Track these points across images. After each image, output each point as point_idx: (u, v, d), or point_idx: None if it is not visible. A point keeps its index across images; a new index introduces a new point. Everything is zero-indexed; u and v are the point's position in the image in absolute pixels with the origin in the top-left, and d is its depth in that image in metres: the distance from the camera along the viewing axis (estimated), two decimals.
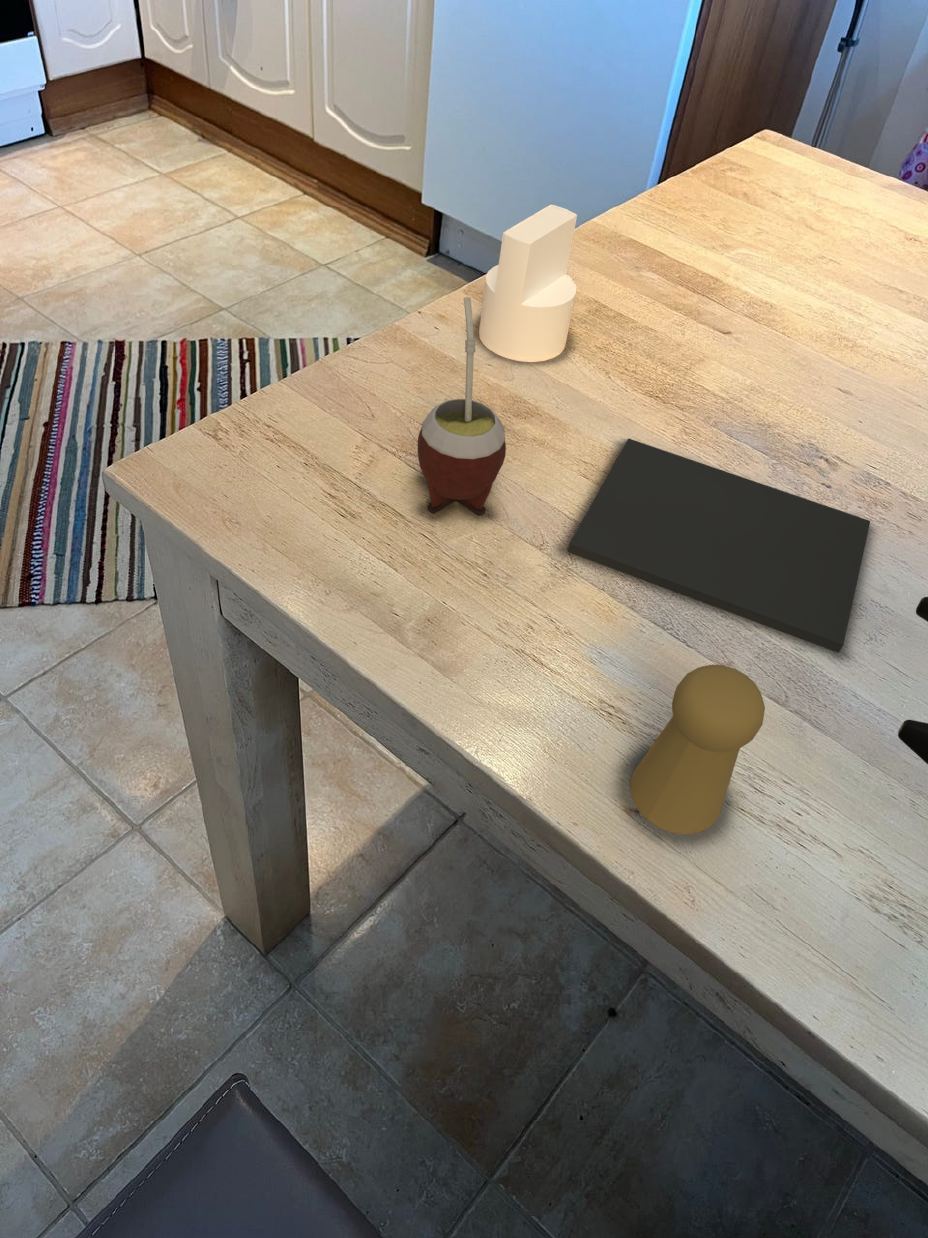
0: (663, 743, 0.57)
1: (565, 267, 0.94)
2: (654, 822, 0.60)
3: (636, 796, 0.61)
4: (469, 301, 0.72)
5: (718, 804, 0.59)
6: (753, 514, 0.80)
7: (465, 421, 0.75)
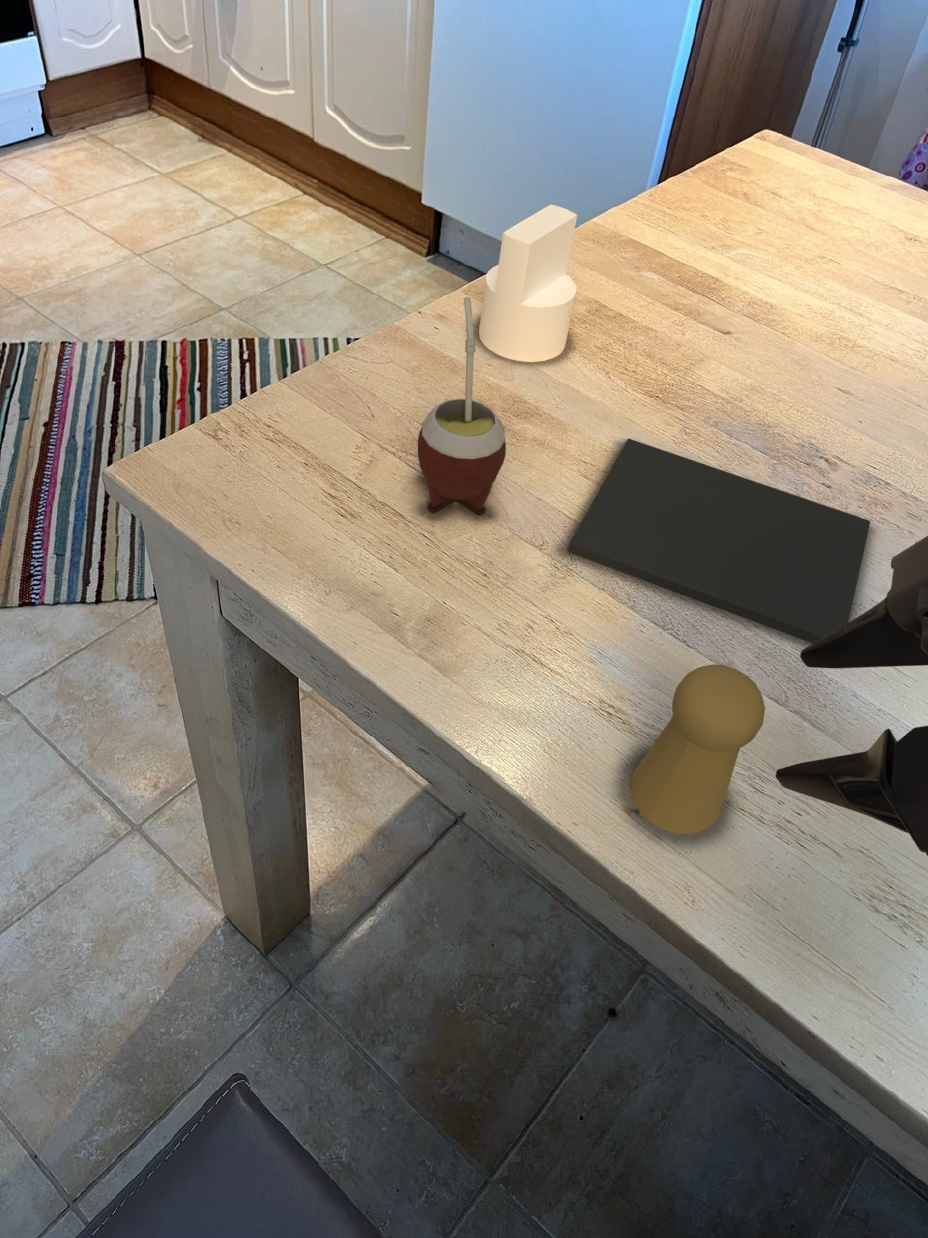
0: (663, 743, 0.57)
1: (565, 267, 0.94)
2: (654, 822, 0.60)
3: (636, 796, 0.61)
4: (469, 301, 0.72)
5: (718, 804, 0.59)
6: (753, 514, 0.80)
7: (465, 421, 0.75)
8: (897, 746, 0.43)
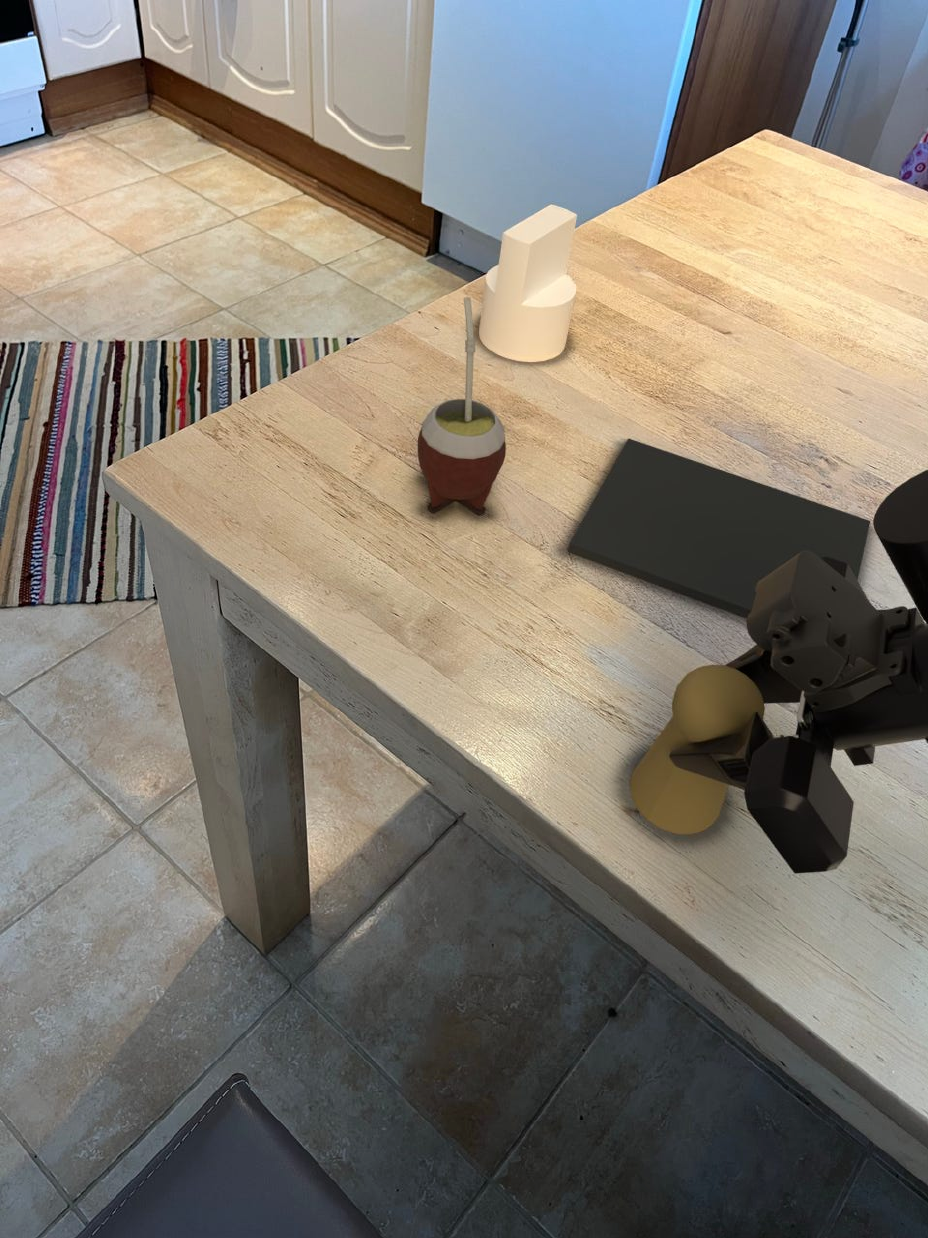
0: (663, 743, 0.57)
1: (565, 267, 0.94)
2: (654, 822, 0.60)
3: (636, 796, 0.61)
4: (469, 301, 0.72)
5: (718, 804, 0.59)
6: (753, 514, 0.80)
7: (465, 421, 0.75)
8: (754, 756, 0.47)
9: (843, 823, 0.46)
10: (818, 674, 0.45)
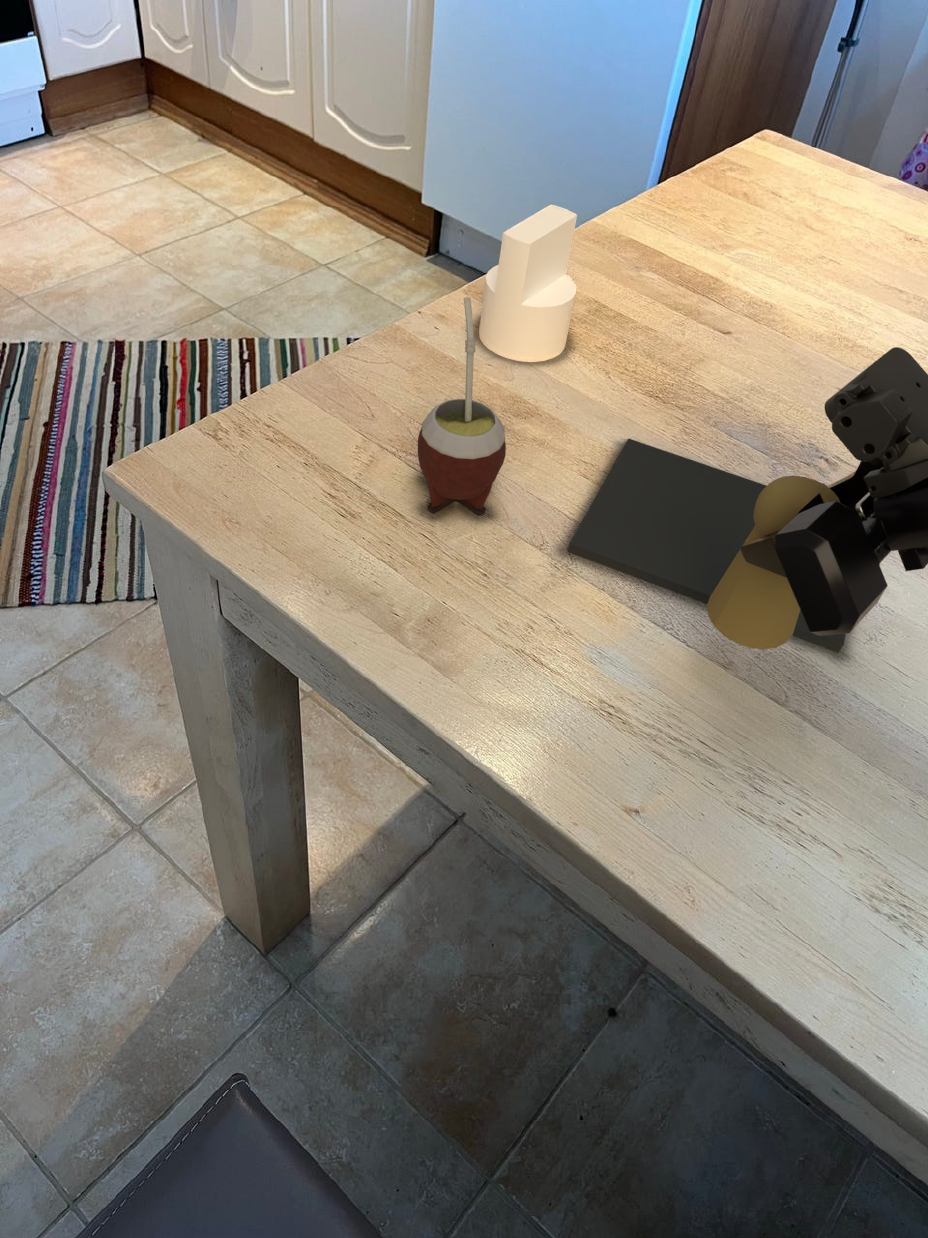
0: None
1: (565, 267, 0.94)
2: (719, 628, 0.64)
3: (710, 604, 0.65)
4: (469, 301, 0.72)
5: (783, 623, 0.62)
6: (753, 514, 0.80)
7: (465, 421, 0.75)
8: (798, 515, 0.51)
9: (866, 591, 0.49)
10: (871, 438, 0.48)
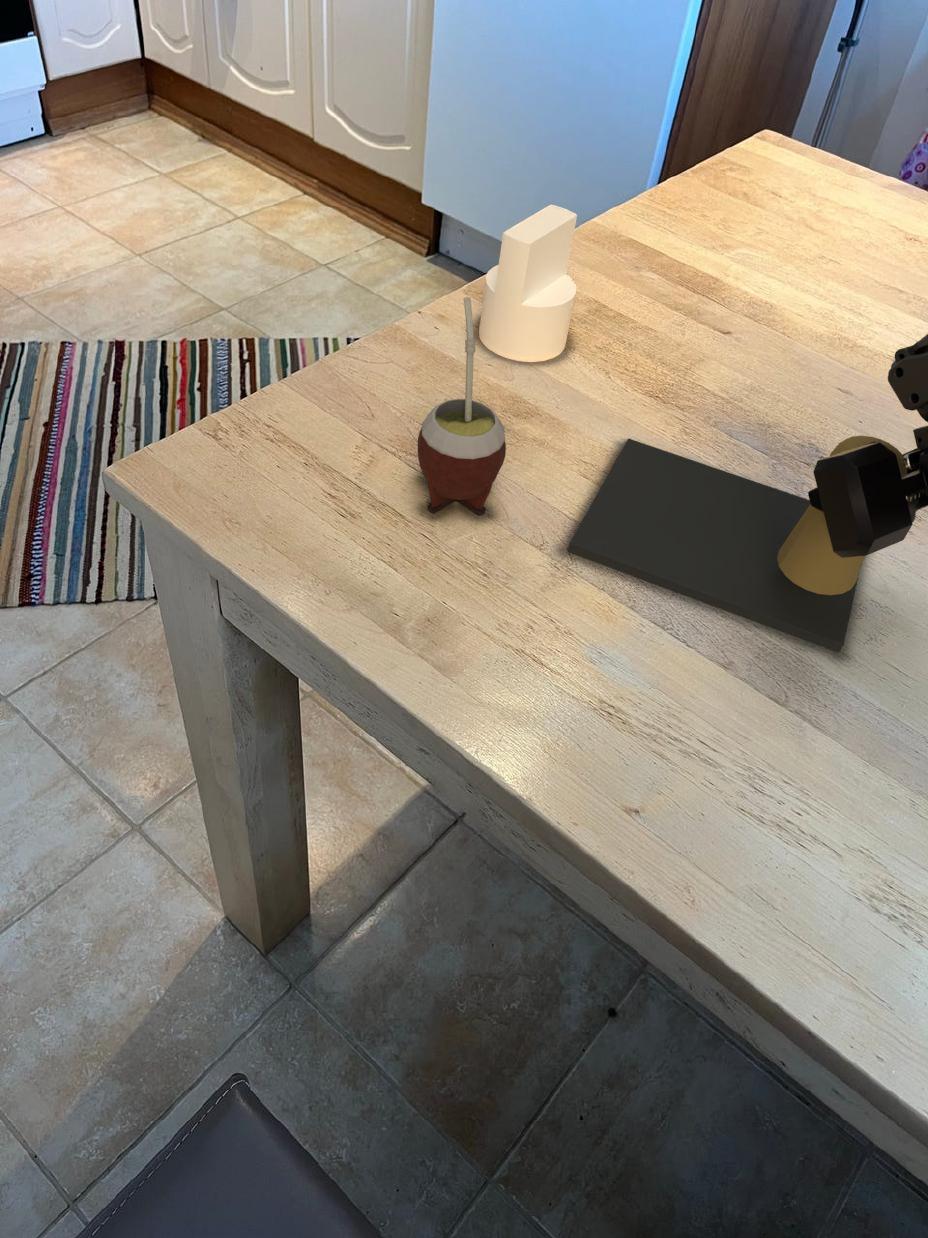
0: None
1: (565, 267, 0.94)
2: (783, 569, 0.71)
3: (781, 548, 0.72)
4: (469, 301, 0.72)
5: (839, 571, 0.69)
6: (753, 514, 0.80)
7: (465, 421, 0.75)
8: None
9: (887, 521, 0.56)
10: (917, 388, 0.55)
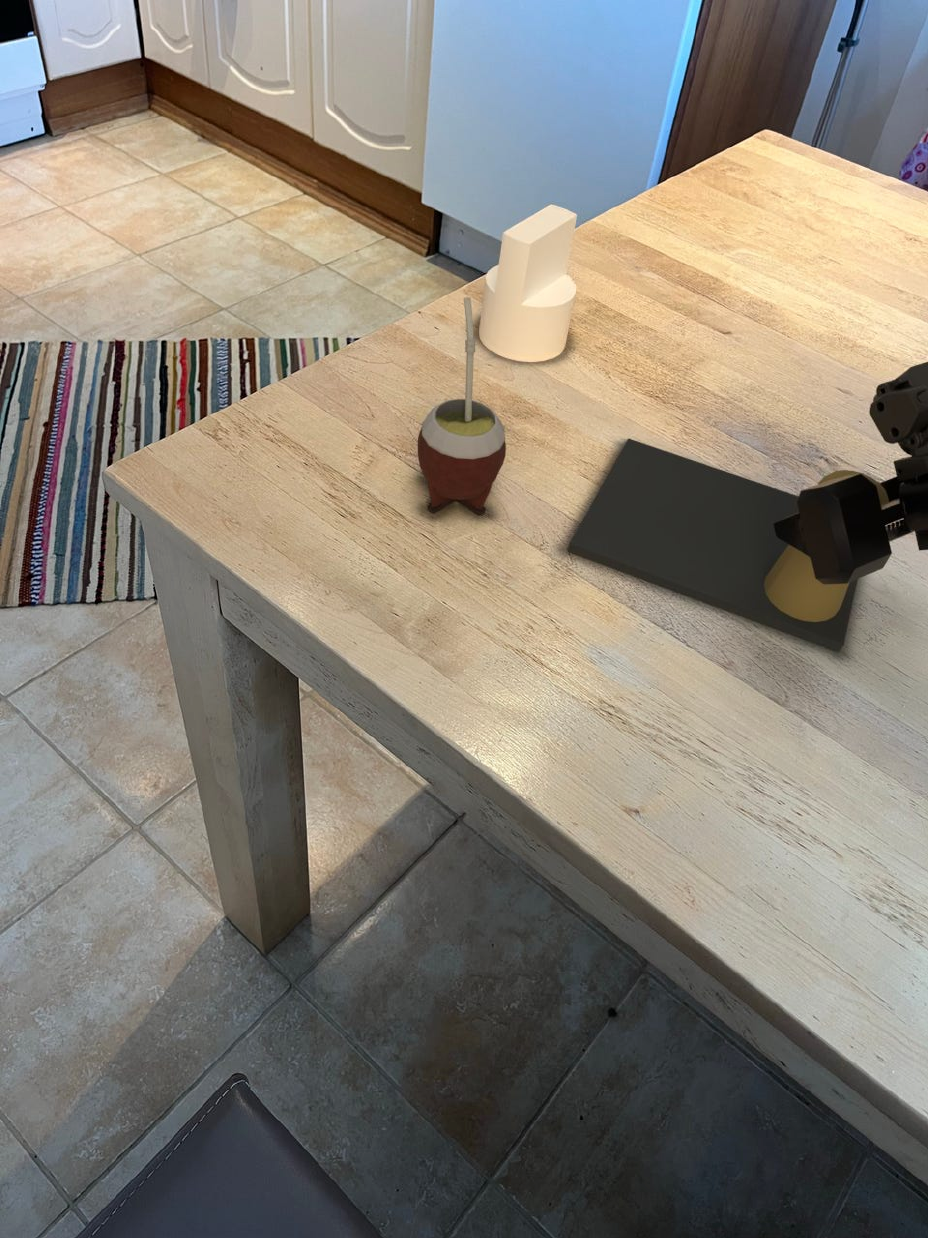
0: None
1: (565, 267, 0.94)
2: (769, 596, 0.73)
3: (767, 576, 0.74)
4: (469, 301, 0.72)
5: (824, 599, 0.71)
6: (753, 514, 0.80)
7: (465, 421, 0.75)
8: None
9: (867, 550, 0.58)
10: (897, 423, 0.57)
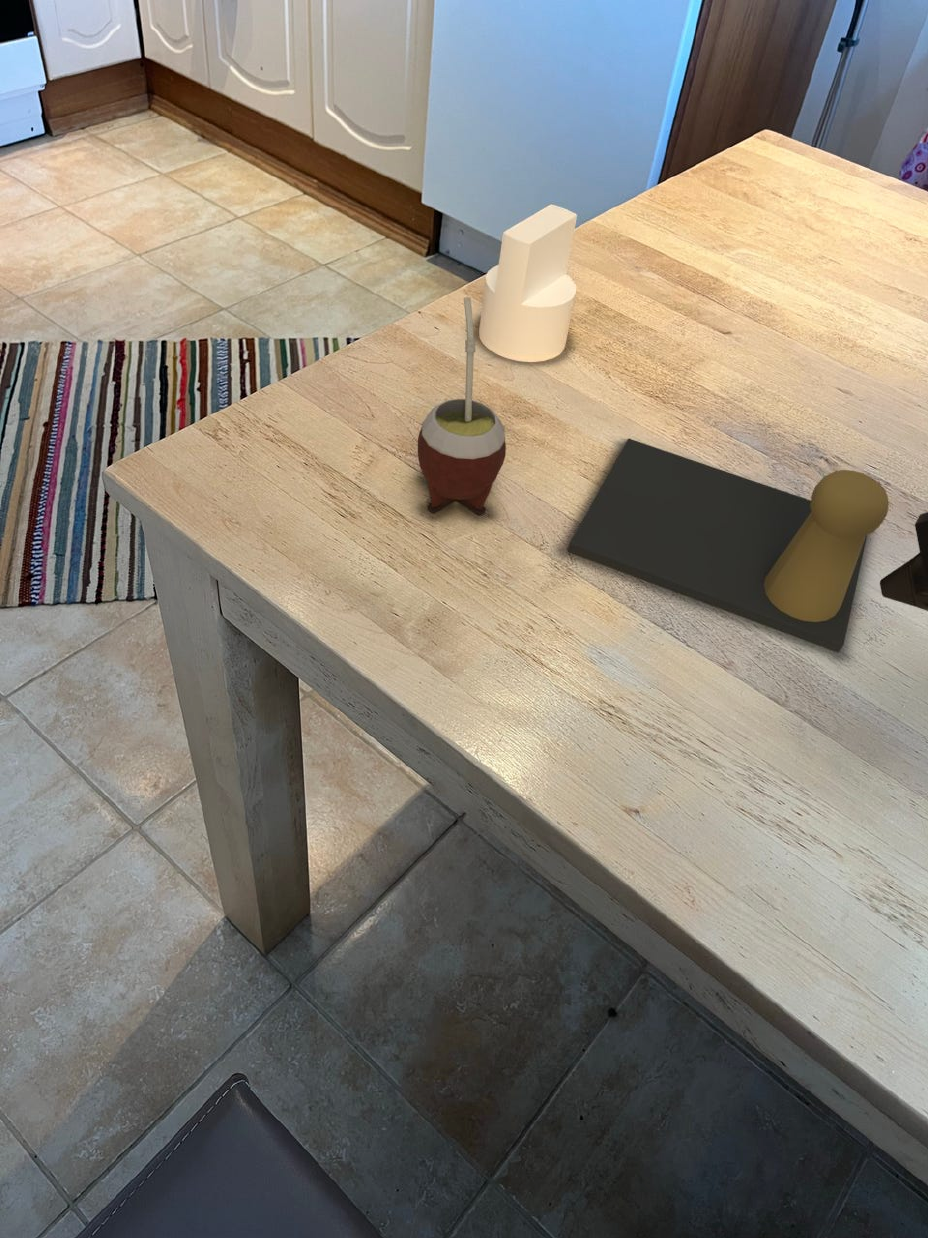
0: (800, 527, 0.71)
1: (565, 267, 0.94)
2: (769, 596, 0.73)
3: (767, 576, 0.74)
4: (469, 301, 0.72)
5: (824, 599, 0.71)
6: (753, 514, 0.80)
7: (465, 421, 0.75)
8: None
9: None
10: None
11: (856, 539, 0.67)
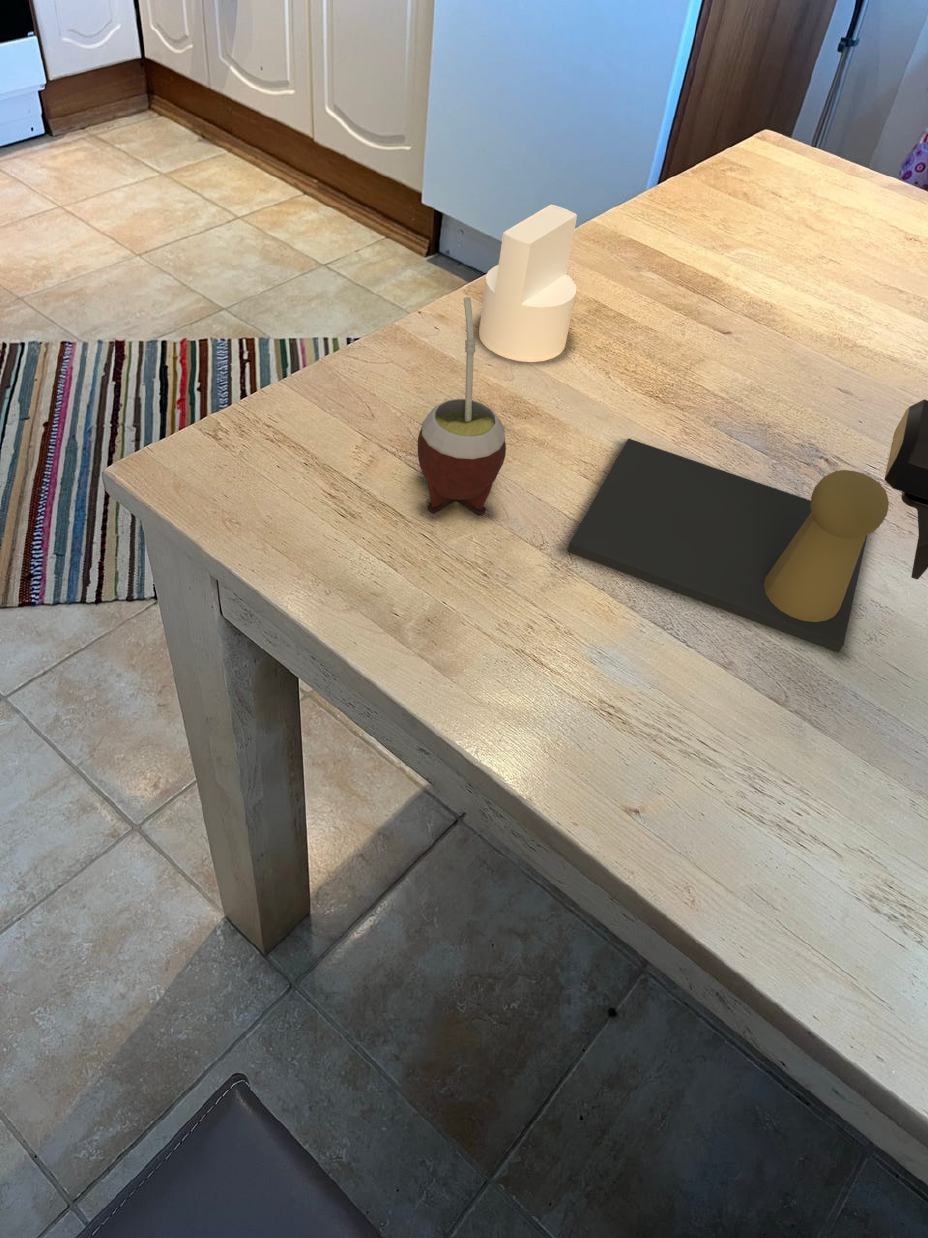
0: (800, 527, 0.71)
1: (565, 267, 0.94)
2: (769, 596, 0.73)
3: (767, 576, 0.74)
4: (469, 301, 0.72)
5: (824, 599, 0.71)
6: (753, 514, 0.80)
7: (465, 421, 0.75)
8: None
9: None
10: None
11: (856, 539, 0.67)
